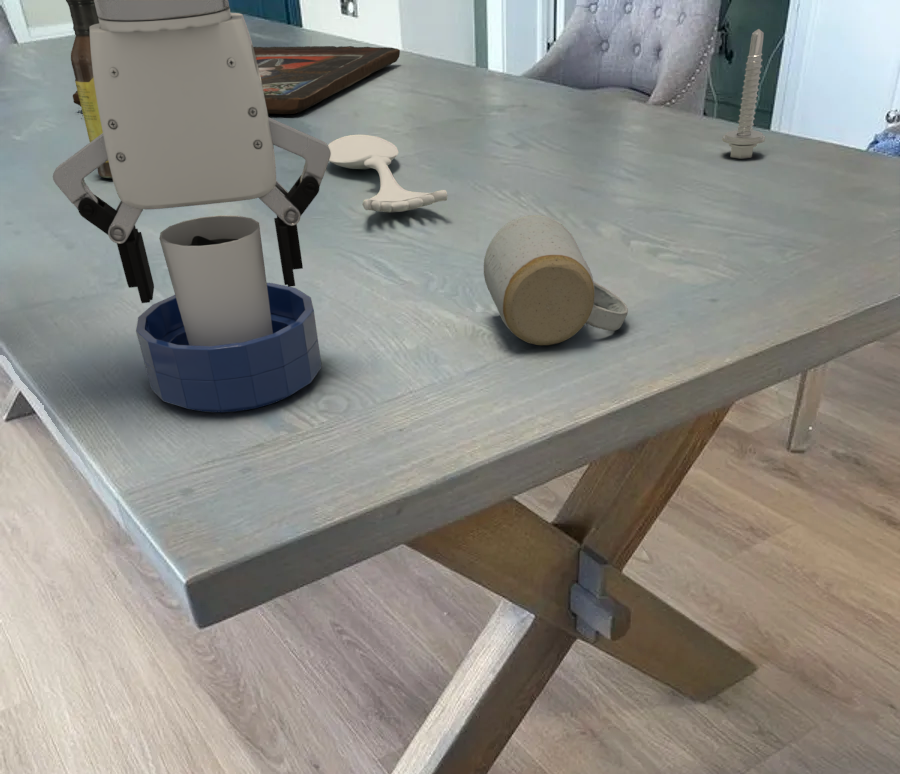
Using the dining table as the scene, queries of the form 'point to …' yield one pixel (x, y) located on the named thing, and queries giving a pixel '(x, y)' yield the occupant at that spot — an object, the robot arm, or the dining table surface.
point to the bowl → (231, 357)
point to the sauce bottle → (86, 69)
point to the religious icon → (312, 73)
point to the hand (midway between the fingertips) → (219, 287)
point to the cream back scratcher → (378, 156)
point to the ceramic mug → (546, 283)
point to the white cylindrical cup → (218, 279)
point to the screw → (748, 104)
